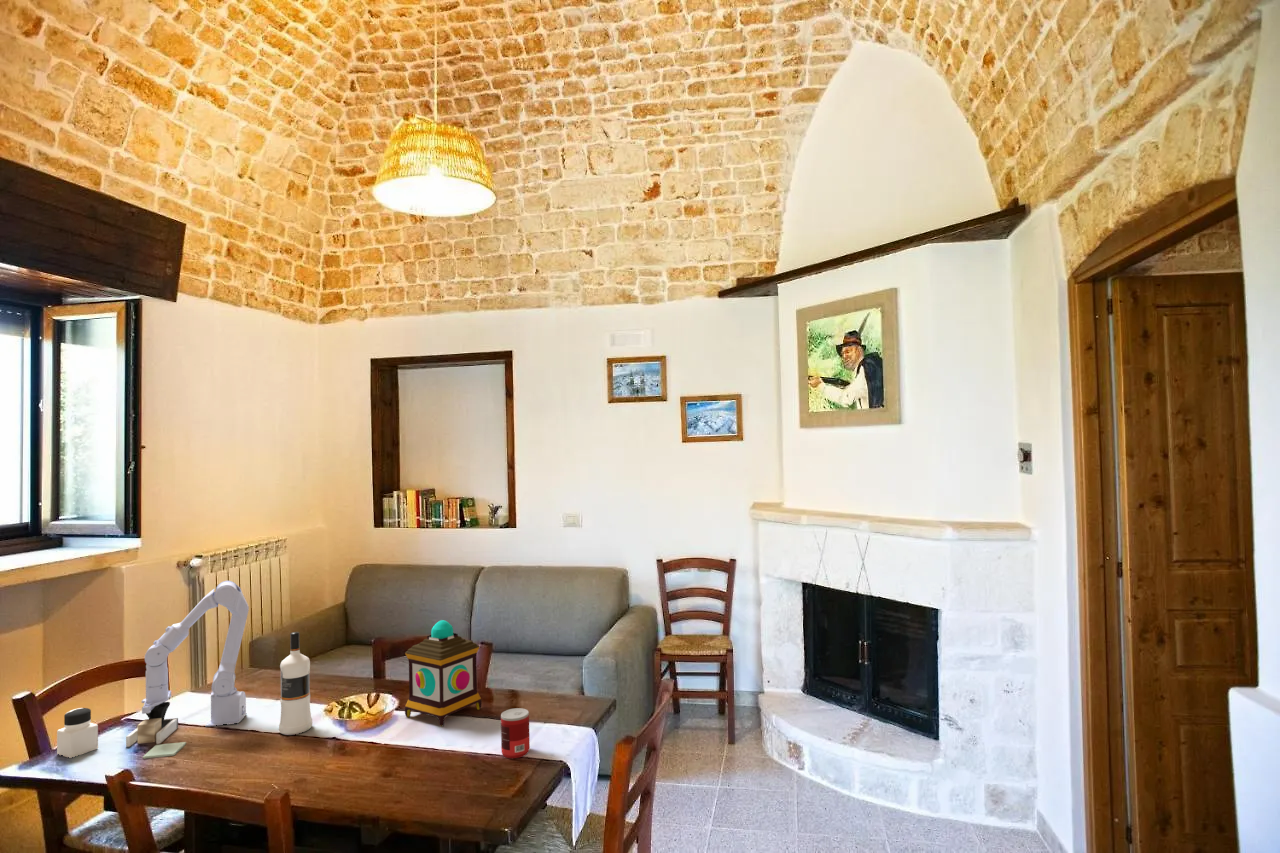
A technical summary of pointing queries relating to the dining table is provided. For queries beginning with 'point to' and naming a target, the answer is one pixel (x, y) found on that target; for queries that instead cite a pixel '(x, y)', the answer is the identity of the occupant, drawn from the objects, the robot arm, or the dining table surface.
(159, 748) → the tile
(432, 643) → the decorative lantern
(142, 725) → the beech block
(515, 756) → the canned food
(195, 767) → the dining table surface
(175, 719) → the channel
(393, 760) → the dining table surface
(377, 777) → the dining table surface
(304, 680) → the vodka
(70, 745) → the medicine bottle
